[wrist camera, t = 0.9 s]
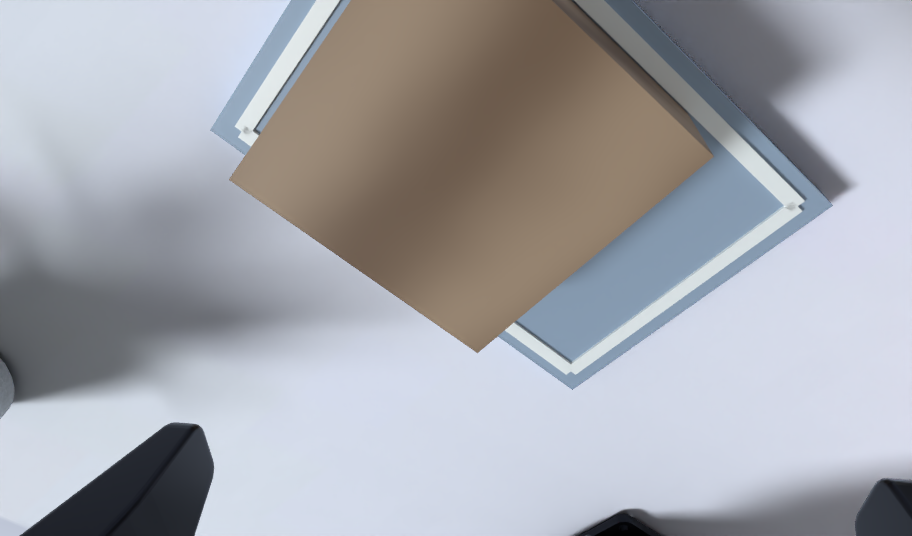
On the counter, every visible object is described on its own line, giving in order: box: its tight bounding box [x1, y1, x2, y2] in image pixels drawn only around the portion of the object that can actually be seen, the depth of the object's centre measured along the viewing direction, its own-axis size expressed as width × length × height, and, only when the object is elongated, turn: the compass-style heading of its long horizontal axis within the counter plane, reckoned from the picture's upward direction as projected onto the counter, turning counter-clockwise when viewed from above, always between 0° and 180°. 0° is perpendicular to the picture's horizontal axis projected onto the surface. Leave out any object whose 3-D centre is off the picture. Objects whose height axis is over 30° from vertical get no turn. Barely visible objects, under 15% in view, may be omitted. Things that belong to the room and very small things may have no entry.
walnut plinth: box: [229, 0, 714, 353], centre depth 17 cm, size 9×9×3 cm
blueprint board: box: [211, 0, 833, 390], centre depth 20 cm, size 16×11×1 cm
